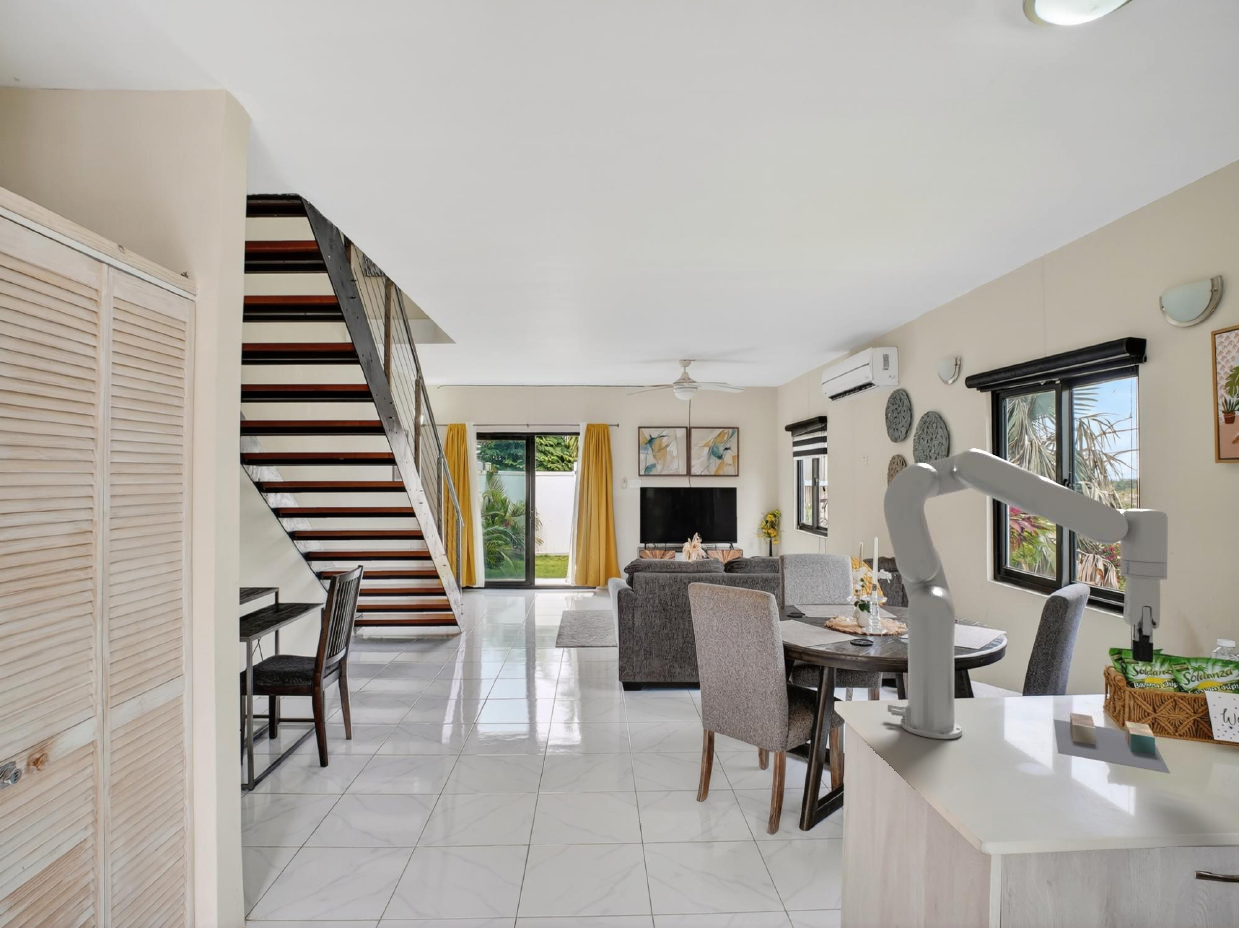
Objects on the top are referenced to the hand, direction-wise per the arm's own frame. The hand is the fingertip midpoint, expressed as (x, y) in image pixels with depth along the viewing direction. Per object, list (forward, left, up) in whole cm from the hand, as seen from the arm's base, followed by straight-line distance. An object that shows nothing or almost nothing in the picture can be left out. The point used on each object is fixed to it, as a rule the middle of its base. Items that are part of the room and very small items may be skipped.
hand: (1142, 660), depth 137 cm
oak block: (0, +4, -18) cm, 18 cm away
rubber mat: (-6, +6, -20) cm, 21 cm away
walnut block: (-10, +4, -18) cm, 20 cm away
